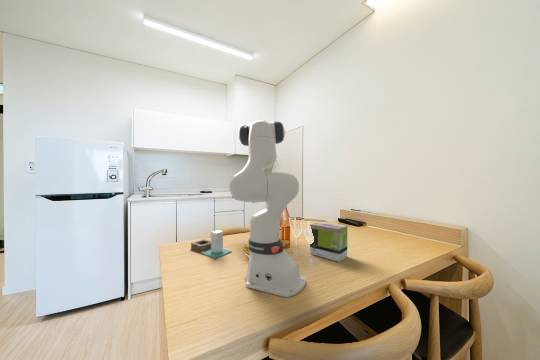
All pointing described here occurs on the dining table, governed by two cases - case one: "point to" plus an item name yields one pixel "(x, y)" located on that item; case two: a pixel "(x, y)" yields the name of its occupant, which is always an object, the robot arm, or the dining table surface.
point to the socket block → (201, 245)
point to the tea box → (329, 241)
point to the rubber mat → (208, 253)
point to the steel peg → (216, 242)
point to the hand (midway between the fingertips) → (238, 197)
